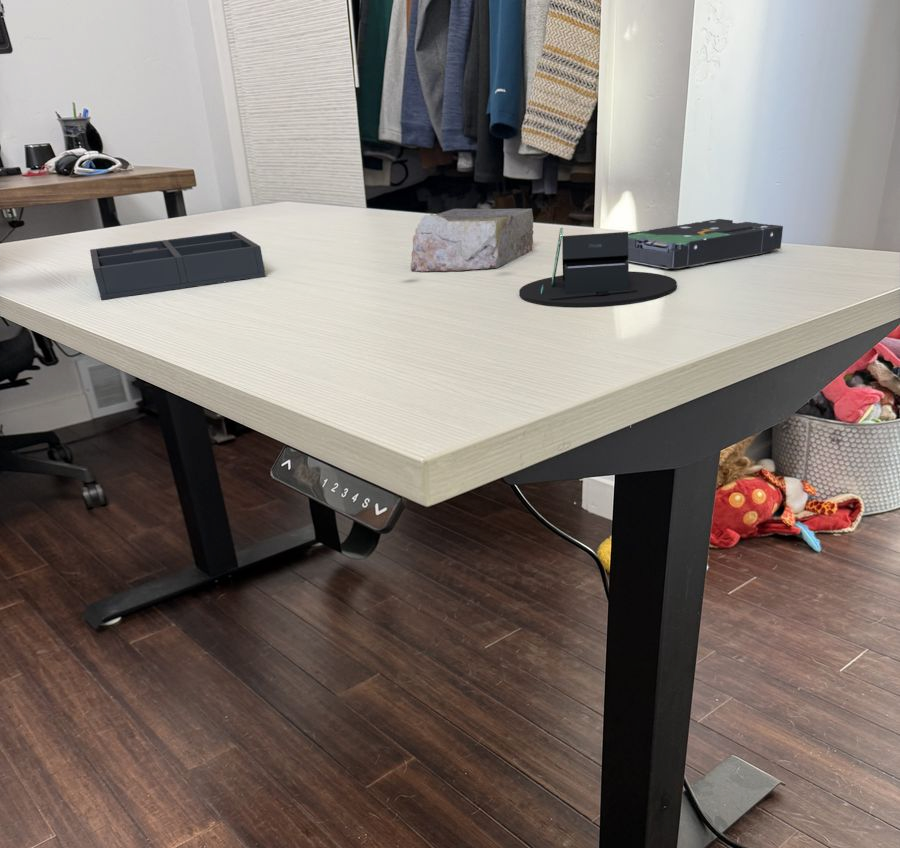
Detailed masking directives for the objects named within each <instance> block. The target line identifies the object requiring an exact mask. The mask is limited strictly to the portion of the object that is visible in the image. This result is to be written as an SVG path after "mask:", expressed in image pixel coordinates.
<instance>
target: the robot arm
mask: <svg viewBox="0 0 900 848" xmlns="http://www.w3.org/2000/svg"><path fill="white" fill-rule="evenodd" d="M5 13H6V12H5V7H4V3H2V1H1V0H0V55H10V54H12V53H13V52H14V51H13V50H14V49H13V45H12V42H11V39H10V34H9V31H8V27H7V24H6V20H5Z"/></svg>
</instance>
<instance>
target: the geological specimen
mask: <svg viewBox="0 0 900 848" xmlns="http://www.w3.org/2000/svg"><path fill="white" fill-rule="evenodd" d="M533 229H534V215H533V208H452V209H449V210H445V211H442V212H440V213H437V214H434V213H430V214H428V215H427V214H426V215H424V216H422V217H421V219H420V221H419V223H418V224H417V227H416V228H415V234H414V235H413V237H412V251H411V261H410V271H411V272H416V273H424V272H448V271H451V272H452V271H453V272H454V271H456V272H457V271H459V272H460V271H471V270H482V269H483V270H485V269H486V270H487V269H497V268H499V267H502V266H504V265H506V264H509V263H511V262H513V261H515V260H517V259H519V258H521V257H523V256H525V255H527V254H529V253H530V252H532V250H533V245H534V230H533Z"/></svg>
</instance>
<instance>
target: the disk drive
mask: <svg viewBox="0 0 900 848" xmlns="http://www.w3.org/2000/svg"><path fill="white" fill-rule="evenodd" d="M733 221H734V220H733V219H724V218H717V219H716V218H715V219H709V220H703V221H696V222H691V223H684V224H679V225H673V226H668V227H661V228H659V227H658V228H655V229H654V228H653V229H648V230H641V231H635V232H628V262H631V263H635V264H640V265H646V266H651V267H655V268H656V267H657V268H663V269H666V270H667V269H668V270H669V269H683V268H687V267H688V268H689V267H691V268H693V267H699V266H704V265H707V264H710V263H715V262H724V261H731V260H737V259H742V258H747V257H752V256H759V255H762V254H764V255H765V254H766V253H769V252H774V251H775V250H779V249H781V248H782V240H783V230H784V226H783V225H778V224H768V223H758V222H752V221H744V222H733Z"/></svg>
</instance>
